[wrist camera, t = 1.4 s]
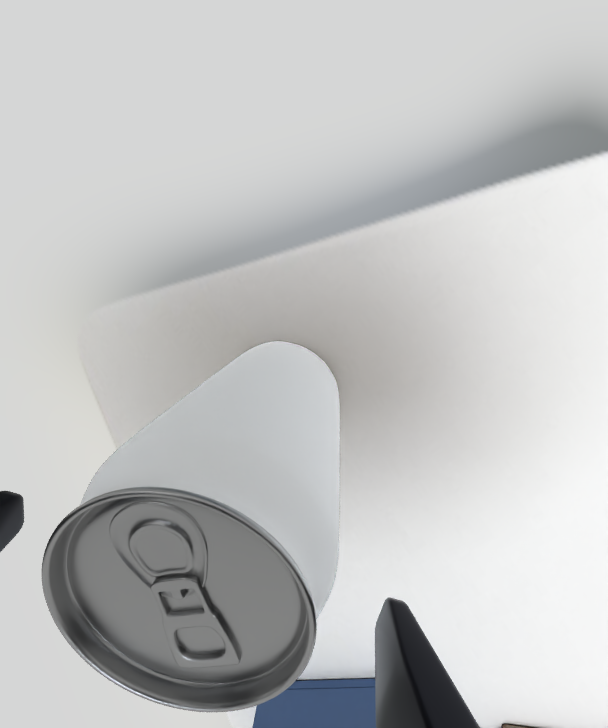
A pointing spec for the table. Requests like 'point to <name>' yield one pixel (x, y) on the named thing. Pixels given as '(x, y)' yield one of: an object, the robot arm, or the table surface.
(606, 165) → the table surface
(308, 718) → the bin
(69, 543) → the can
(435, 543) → the table surface
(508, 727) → the telephone
